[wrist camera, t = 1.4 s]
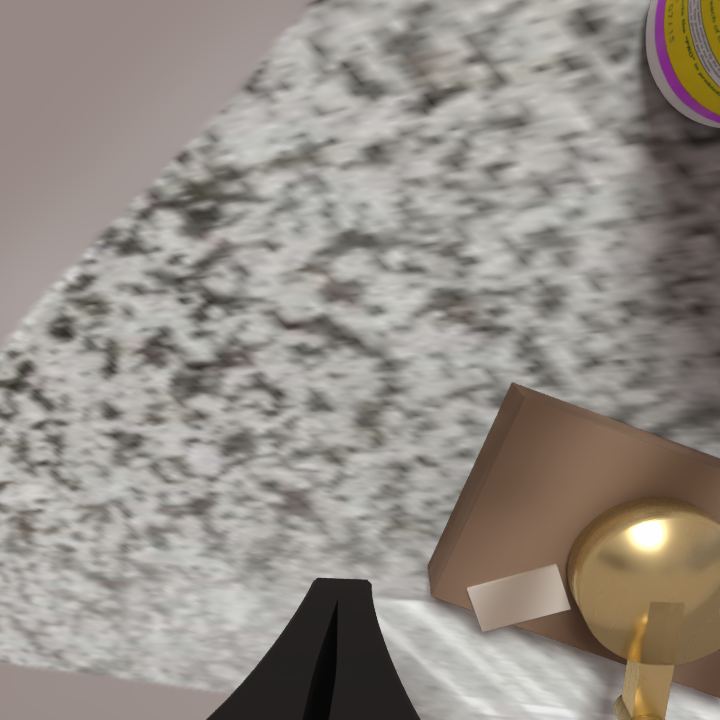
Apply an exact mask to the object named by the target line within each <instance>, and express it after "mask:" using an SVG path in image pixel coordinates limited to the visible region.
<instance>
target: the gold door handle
mask: <svg viewBox="0 0 720 720" xmlns="http://www.w3.org/2000/svg"><path fill="white" fill-rule="evenodd" d="M568 582H569V586H570V590H571V593H572V595H573V597H574V599H575V601H576V603H577V605H578V607H579V609H580V611H581V613H582V615H583V617H584V619H585V621H586V623H587V625H588V627H589V629H590V630H591V632H592V633H593V635H594V636H595V637H596V638H597V639H598V641H599V642H600V643H601V644H602V645H604V646H605V647H606V648H607V649H608V650H610V651H612V652H613V653H615V654H616V655H618V656H621V657H623V658H625V659H627V665H626V671H625V678H624V685H623V691H622V695H621V696H620V697H618V698H617V700H616V701H615V703H614V713H615V715H616V717H617V719H618V720H665V715H666V710H667V704H668V698H669V693H670V687H671V681H672V676H673V670H674V665H677V664H683V663H687V662H691V661H694V660H697V659H700V658H703V657H705V656H707V655H710V654H712V653H713V652H715V651H717V650H719V649H720V524H719V523H718V522H717V521H716V520H715V519H714V518H713V517H711V516H710V515H709V514H708V513H707V512H705V511H704V510H702V509H701V508H699V507H697V506H695V505H693V504H691V503H688V502H685V501H682V500H679V499H674V498H668V497H645V498H639V499H634V500H630V501H626V502H624V503H621V504H619V505H616V506H614V507H612V508H610V509H608V510H606V511H605V512H603V513H602V514H600V515H599V516H597V517H596V518H595V519H594V520H593V521H592V522H591V523H589V524H588V526H587V527H586V528H585V529H584V530H583V531H582V533H581V534H580V535H579V537H578V538H577V540H576V542H575V544H574V546H573V548H572V551H571V554H570V557H569V562H568Z"/></svg>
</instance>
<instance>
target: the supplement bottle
mask: <svg viewBox="0 0 720 720" xmlns="http://www.w3.org/2000/svg"><path fill="white" fill-rule="evenodd" d="M646 52H647V58H648V63H649V67H650V70H651V73H652V76H653V78H654V80H655V82H656V84H657V86H658V88H659V89H660V91H661V92H662V94H663V95H664V97H665V98H666V99H667V100H668V101H669V103H670V104H671V105H672V106H673V107H674V108H676V109H677V110H678V111H679V112H680V113H682V114H683V115H685V116H686V117H688V118H690V119H692V120H694V121H696V122H698V123H701V124H703V125H707V126H711V127H716V128H720V0H651V4H650V7H649V11H648V16H647V23H646Z"/></svg>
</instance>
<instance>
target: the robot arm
mask: <svg viewBox="0 0 720 720" xmlns="http://www.w3.org/2000/svg"><path fill="white" fill-rule="evenodd" d="M206 720H420V718H419V716H418V714H417V713H416V711H415V709H414V707H413V705H412V703H411V701H410V699H409V698H408V696H407V694H406V691H405V689H404V687H403V685H402V683H401V681H400V679H399V677H398V674H397V672H396V670H395V667H394V665H393V663H392V660H391V658H390V655H389V653H388V650H387V647H386V644H385V642H384V639H383V636H382V633H381V630H380V627H379V624H378V620H377V616H376V612H375V608H374V604H373V598H372V584H371V583H370V582H369V581H368V580H361V579H335V578H317V579H316V580H315V581H313V583H312V585H311V587H310V589H309V591H308V593H307V594H306V596H305V598H304V600H303V601H302V603H301V605H300V606H299V608H298V609H297V611H296V613H295V614H294V616H293V617H292V619H291V620H290V622H289V623H288V625H287V626H286V628H285V629H284V630H283V632H282V633H281V635H280V636H279V638H278V639H277V640H276V642H275V643H274V644H273V646H272V647H271V648H270V650H269V651H268V652H267V653H266V655H265V656H264V657H263V659H262V660H261V661H260V662H259V664H258V665H257V666H256V667H255V669H254V670H253V671H252V672H251V673H250V674H249V676H248V677H247V678H246V679H245V680H244V681H243V683H242V684H241V685H240V686H239V687H238V688H237V689H236V690H235V691H234V692H233V693H232V694H231V696H230V697H229V698H228V699H227V700H226V701H225V702H224V703H223V704H222V705H221V706H220V707H219V708H218V709H217V710H216V711H215V712H214V713H213V714H212V715H210V717H208V718H207V719H206Z"/></svg>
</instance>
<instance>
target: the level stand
mask: <svg viewBox="0 0 720 720" xmlns="http://www.w3.org/2000/svg"><path fill="white" fill-rule="evenodd" d="M645 497H668V498H674V499H679V500H682V501H685V502H688V503H691V504H693V505H695V506H697V507H699V508H701V509H702V510H704V511H705V512H707V513H708V514H709V515H710V516H711V517H713V518H714V519H715V520H716V521H717V522H718V523H719V524H720V459H719V458H716V457H714V456H711V455H708V454H705V453H703V452H700V451H697V450H695V449H692V448H689V447H686V446H684V445H681V444H678V443H676V442H673V441H670V440H667V439H665V438H662V437H659V436H657V435H654V434H651V433H648V432H646V431H643V430H640V429H638V428H635V427H632V426H629V425H627V424H624V423H621V422H619V421H616V420H613V419H610V418H608V417H605V416H602V415H600V414H597V413H594V412H591V411H589V410H586V409H583V408H581V407H578V406H575V405H572V404H570V403H567V402H564V401H561V400H559V399H556V398H553V397H551V396H548V395H545V394H542V393H540V392H537V391H534V390H532V389H529V388H526V387H523V386H521V385H518V384H515V383H513V382H512V384H511V386H510V388H509V390H508V392H507V395H506V397H505V399H504V401H503V403H502V405H501V408H500V410H499V412H498V414H497V416H496V418H495V421H494V423H493V425H492V427H491V429H490V432H489V434H488V436H487V438H486V440H485V442H484V445H483V447H482V449H481V451H480V453H479V455H478V458H477V460H476V462H475V464H474V466H473V468H472V471H471V473H470V475H469V477H468V479H467V482H466V484H465V486H464V488H463V490H462V492H461V495H460V497H459V499H458V501H457V503H456V505H455V508H454V510H453V512H452V514H451V516H450V518H449V521H448V523H447V525H446V527H445V529H444V532H443V534H442V536H441V538H440V540H439V542H438V545H437V547H436V549H435V551H434V553H433V555H432V558H431V560H430V562H429V564H428V570H429V578H430V587H431V595H432V597H435V598H438V599H440V600H443V601H446V602H449V603H452V604H455V605H458V606H460V607H463V608H466V609H469V610H472V611H475V613H476V616H477V619H478V621H479V624H480V627H481V630H482V632H484V631H488V630H492V629H496V628H500V627H504V626H508V625H514V626H517V627H520V628H523V629H526V630H529V631H531V632H534V633H537V634H540V635H543V636H546V637H548V638H551V639H554V640H557V641H560V642H563V643H566V644H568V645H571V646H574V647H577V648H580V649H583V650H585V651H588V652H591V653H594V654H597V655H600V656H602V657H605V658H608V659H611V660H614V661H617V662H620V663H622V664H625V665H627V659H625V658H623V657H621V656H618V655H616V654H615V653H613V652H612V651H610V650H608V649H607V648H606V647H605V646H604V645H602V644H601V643H600V642H599V641H598V639H597V638H596V637H595V636H594V635H593V633H592V632H591V630H590V629H589V627H588V625H587V623H586V621H585V619H584V617H583V615H582V613H581V611H580V609H579V607H578V605H577V603H576V601H575V599H574V597H573V595H572V593H571V590H570V586H569V582H568V562H569V557H570V554H571V551H572V548H573V546H574V544H575V542H576V540H577V538H578V537H579V535H580V534H581V533H582V531H583V530H584V529H585V528H586V527H587V526H588V524H589V523H591V522H592V521H593V520H594V519H595V518H596V517H597V516H599V515H600V514H602V513H603V512H605V511H606V510H608V509H610V508H612V507H614V506H616V505H619V504H621V503H624V502H626V501H630V500H634V499H639V498H645ZM672 681H674V682H676V683H679V684H682V685H685V686H688V687H691V688H693V689H696V690H699V691H702V692H705V693H708V694H711V695H713V696H716V697H719V698H720V649H719V650H717V651H715V652H713V653H712V654H710V655H707V656H705V657H703V658H700V659H697V660H694V661H691V662H687V663H683V664H677V665H674V670H673V676H672Z"/></svg>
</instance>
